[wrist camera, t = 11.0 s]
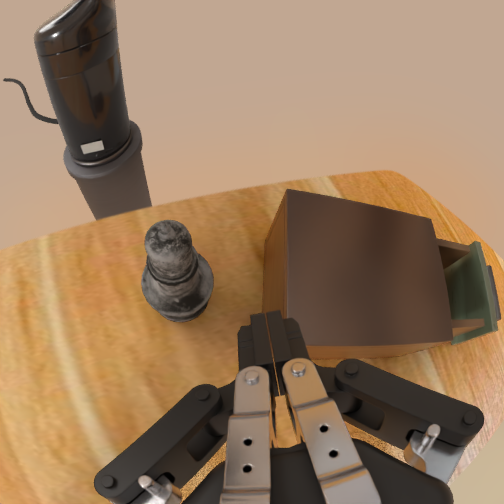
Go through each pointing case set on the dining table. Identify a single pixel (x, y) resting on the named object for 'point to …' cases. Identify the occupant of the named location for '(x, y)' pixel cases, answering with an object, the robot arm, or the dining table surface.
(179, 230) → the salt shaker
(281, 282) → the cabinet
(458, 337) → the drawer
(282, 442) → the dining table surface
